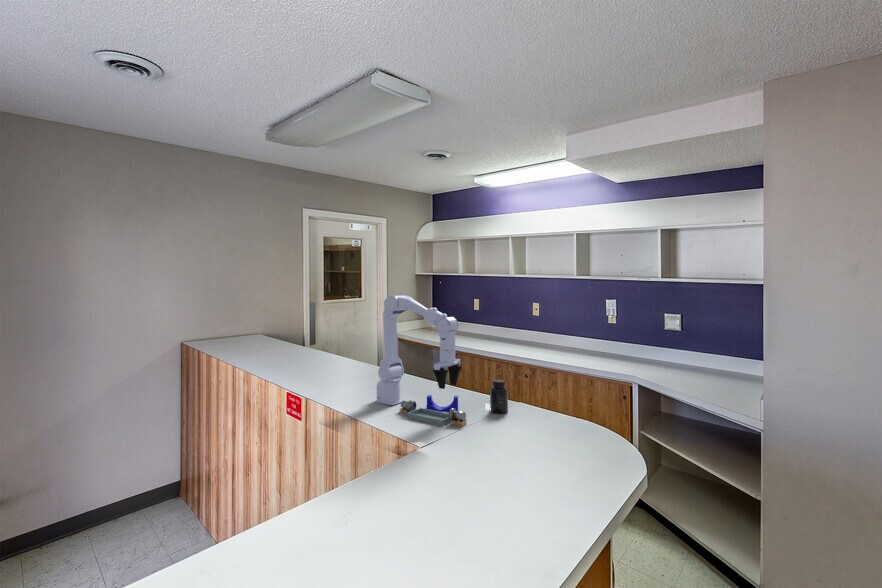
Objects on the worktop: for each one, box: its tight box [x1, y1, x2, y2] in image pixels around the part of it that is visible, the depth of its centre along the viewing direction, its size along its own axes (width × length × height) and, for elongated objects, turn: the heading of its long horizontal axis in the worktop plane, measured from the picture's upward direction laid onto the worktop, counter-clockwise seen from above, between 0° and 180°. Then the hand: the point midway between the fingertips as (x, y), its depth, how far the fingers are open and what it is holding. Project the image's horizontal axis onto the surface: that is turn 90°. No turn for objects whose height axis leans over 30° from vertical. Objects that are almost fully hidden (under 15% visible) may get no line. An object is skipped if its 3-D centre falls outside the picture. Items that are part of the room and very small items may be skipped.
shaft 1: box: [399, 399, 417, 416], centre depth 158 cm, size 5×4×5 cm
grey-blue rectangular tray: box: [406, 407, 452, 427], centre depth 151 cm, size 16×8×2 cm, turn 55°
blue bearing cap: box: [425, 394, 459, 412], centre depth 160 cm, size 12×4×6 cm, turn 85°
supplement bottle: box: [489, 379, 509, 415], centre depth 160 cm, size 7×7×12 cm
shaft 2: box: [448, 408, 468, 428], centre depth 145 cm, size 5×4×5 cm
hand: (447, 386), depth 153 cm, fingers open, 7 cm apart
